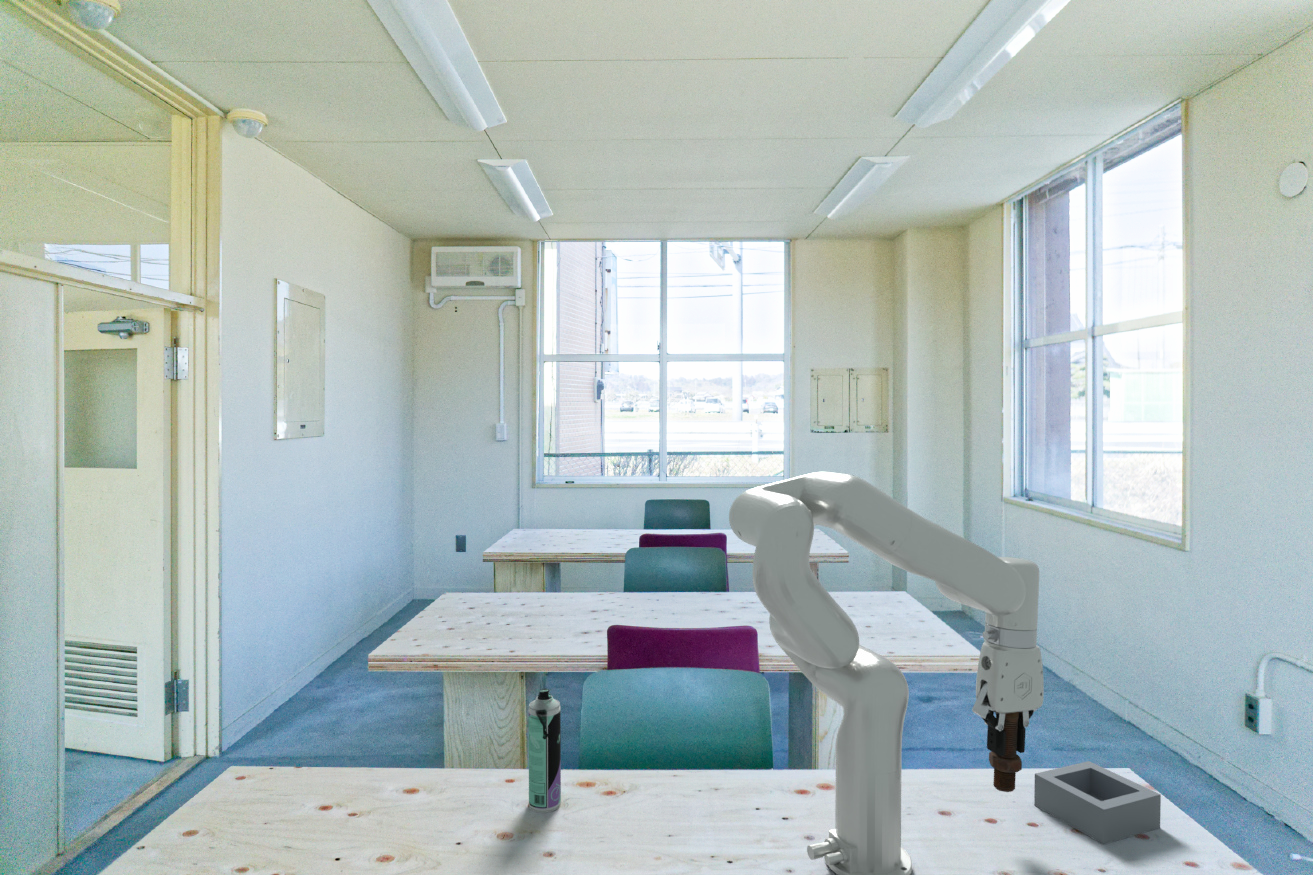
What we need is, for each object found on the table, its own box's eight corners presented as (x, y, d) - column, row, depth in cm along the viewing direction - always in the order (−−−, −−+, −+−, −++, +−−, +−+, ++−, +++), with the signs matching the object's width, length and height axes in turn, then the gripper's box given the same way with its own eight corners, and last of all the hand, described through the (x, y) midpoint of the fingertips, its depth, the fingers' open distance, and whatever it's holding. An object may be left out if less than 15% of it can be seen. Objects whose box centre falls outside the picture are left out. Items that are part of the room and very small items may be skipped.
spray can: (564, 809, 129) (564, 693, 129) (532, 815, 127) (532, 697, 127) (556, 794, 135) (556, 682, 134) (525, 800, 133) (525, 686, 132)
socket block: (1103, 844, 119) (1103, 809, 118) (1034, 805, 131) (1034, 773, 131) (1160, 827, 123) (1160, 794, 123) (1088, 791, 135) (1088, 761, 135)
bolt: (1026, 799, 117) (1029, 703, 117) (991, 795, 118) (995, 700, 118) (1016, 782, 123) (1019, 691, 123) (983, 778, 124) (986, 687, 124)
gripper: (989, 646, 114) (983, 767, 114) (1068, 639, 120) (1063, 754, 120) (952, 633, 121) (947, 747, 121) (1029, 627, 127) (1024, 735, 127)
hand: (1005, 749), depth 121 cm, fingers closed on bolt, 3 cm apart
